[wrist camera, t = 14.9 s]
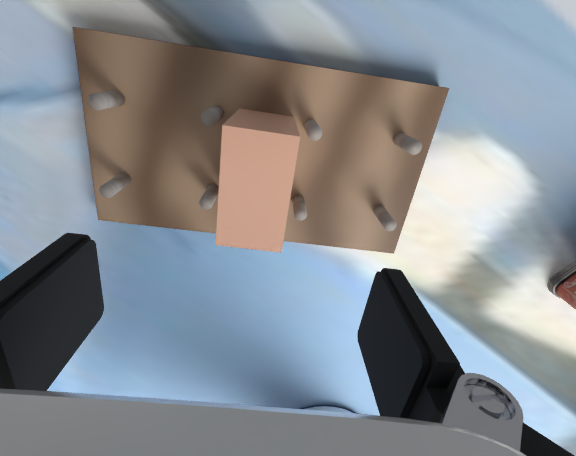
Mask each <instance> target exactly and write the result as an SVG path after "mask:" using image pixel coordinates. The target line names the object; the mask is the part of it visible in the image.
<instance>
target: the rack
mask: <svg viewBox="0 0 576 456" xmlns="http://www.w3.org/2000/svg"><path fill="white" fill-rule="evenodd" d="M73 34H74V41H75V49H76V57H77V64H78V72H79V79H80V87H81V94H82V102H83V109H84V117H85V124H86V132H87V139H88V147H89V155H90V162H91V170H92V177H93V185H94V192H95V200H96V207H97V215H98V220H103V221H112V222H120V223H129V224H138V225H147V226H156V227H165V228H174V229H183V230H191V231H200V232H209V233H216V228H217V211H218V193H219V175H220V157H221V140H222V125H223V124H224V123H225V122H226V121H227V120H228V119H229V118H230V117H231V116H232V115H233V114H234V113H235V112H236V111H237V110H238V109H239V108H241V109H247V110H254V111H260V112H267V113H273V114H280V115H286V116H293V117H294V119H295V122H296V125H297V128H298V131H299V134H300V142H299V148H298V154H297V160H296V167H295V173H294V179H293V185H292V191H291V197H290V203H289V210H288V216H287V222H286V228H285V234H284V240H283V241H289V242H298V243H307V244H316V245H324V246H333V247H342V248H351V249H360V250H369V251H378V252H386V253H394V251H395V248H396V245H397V242H398V239H399V236H400V233H401V230H402V227H403V224H404V221H405V218H406V215H407V212H408V209H409V206H410V203H411V200H412V198H413V195H414V192H415V189H416V186H417V183H418V180H419V177H420V174H421V171H422V168H423V165H424V162H425V159H426V156H427V153H428V150H429V147H430V144H431V141H432V138H433V135H434V132H435V129H436V126H437V123H438V120H439V117H440V114H441V111H442V108H443V105H444V102H445V99H446V96H447V93H448V91H449V88H445V87H439V86H433V85H427V84H421V83H414V82H408V81H402V80H396V79H390V78H384V77H378V76H371V75H365V74H359V73H353V72H347V71H341V70H334V69H328V68H322V67H316V66H310V65H304V64H297V63H291V62H285V61H279V60H273V59H267V58H261V57H254V56H248V55H242V54H236V53H230V52H224V51H217V50H211V49H205V48H199V47H193V46H187V45H181V44H174V43H168V42H162V41H156V40H150V39H144V38H137V37H131V36H125V35H119V34H113V33H107V32H101V31H94V30H88V29H82V28H76V27H73Z"/></svg>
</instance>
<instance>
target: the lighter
mask: <svg viewBox="0 0 576 456" xmlns="http://www.w3.org/2000/svg"><path fill="white" fill-rule="evenodd" d="M547 287H548V289H549V291H550V292H552V293H553V294H554V295H555V296H557V297H559V298H562V299H563V300H564V301H566V302H567V303H568V304H569V305H571V306H572V307H573V308H574V309H576V261H575V262H573V263H572V264H570V265H569V266H567V267H566V268H564V269H563V270H561V271H560V272H559V273H557V274H556V275H555V276H553V277H552V278H551V279H550V280H549V282H548V286H547Z"/></svg>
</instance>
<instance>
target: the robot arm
mask: <svg viewBox="0 0 576 456" xmlns="http://www.w3.org/2000/svg"><path fill="white" fill-rule="evenodd" d="M103 311H104V304H103V296H102V288H101V280H100V273H99V265H98V257H97V249H96V243H95V241H94V240H91V239H90V237H89V236H88V235H83V234H74V233H66V234H64V235H63V236H62V237H60V238H59V239H57V240H56V241H55V242H53V243H52V244H51V245H49V246H48V247H46V248H45V249H44V250H42V251H41V252H39V253H38V254H37V255H35V256H34V257H33V258H31V259H30V260H28V261H27V262H26V263H24V264H23V265H22V266H20V267H19V268H17V269H16V270H15V271H13V272H12V273H11V274H9V275H8V276H6V277H5V278H4V279H2V280H1V281H0V456H574V455H572V454H571V453H569V452H568V451H566V450H565V449H563V448H562V447H560V446H558V445H557V444H555V443H554V442H552V441H551V440H549V439H548V438H546V437H545V436H543V435H541V434H540V433H538V432H537V431H535V430H534V429H532V428H531V427H529V426H528V425H526V424H524V423H523V413H522V409H521V407H520V405H519V403H518V401H517V400H516V399H515V398H514V396H513V395H512V394H511V393H510V392H509V391H508V390H507V389H505V388H504V387H503V386H502V385H500V384H499V383H497V382H496V381H494V380H492V379H490V378H488V377H486V376H484V375H480V374H476V373H466V374H465V373H464V371H463V369H462V368H461V366H460V365H459V364H460V363H459V361H458V359H457V358H456V356H455V355H454V353H453V351H452V350H451V348H450V347H449V345H448V344H447V342H446V340H445V339H444V337H443V336H442V334H441V333H440V331H439V329H438V328H437V326H436V325H435V323H434V321H433V320H432V318H431V317H430V315H429V314H428V312H427V310H426V309H425V307H424V306H423V304H422V302H421V301H420V299H419V298H418V296H417V295H416V293H415V291H414V290H413V288H412V287H411V285H410V283H409V282H408V280H407V279H406V277H405V276H404V274H403V272H402V271H401V270H397V269H388V268H383V269H382V270H381V272H377V273H376V275H375V278H374V281H373V284H372V287H371V291H370V294H369V297H368V300H367V304H366V307H365V310H364V313H363V317H362V320H361V323H360V326H359V330H358V343H359V346H360V349H361V353H362V356H363V359H364V363H365V366H366V369H367V373H368V376H369V379H370V383H371V386H372V390H373V393H374V396H375V400H376V403H377V406H378V410H379V413H380V416H375V415H365V414H355V413H352V412H350V411H348V410H345V409H343V408H338V407H331V406H318V407H311V408H306V409H292V408H279V407H266V406H253V405H239V404H226V403H212V402H198V401H184V400H170V399H156V398H142V397H127V396H112V395H97V394H82V393H67V392H52V391H47V389H48V388H49V387H50V385H51V384H52V383H53V381H54V380H55V379H56V377H57V376H58V375H59V373H60V372H61V371H62V369H63V368H64V367H65V365H66V364H67V362H68V361H69V360H70V358H71V357H72V356H73V354H74V353H75V352H76V350H77V349H78V348H79V346H80V345H81V344H82V342H83V341H84V340H85V338H86V337H87V336H88V334H89V333H90V332H91V330H92V329H93V328H94V326H95V325H96V324H97V322H98V321H99V320H100V318H101V317H102V314H103Z"/></svg>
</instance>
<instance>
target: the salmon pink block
mask: <svg viewBox="0 0 576 456" xmlns="http://www.w3.org/2000/svg"><path fill="white" fill-rule="evenodd" d="M299 142H300V134H299V131H298V128H297V125H296V122H295V119H294V117H293V116H286V115H280V114H273V113H267V112H260V111H254V110H247V109H241V108H239V109H238V110H237V111H236V112H235V113H234V114H233V115H232V116H231V117H230V118H229V119H228V120H227V121H226V122H225V123H224V124H223V125H222V140H221V157H220V175H219V193H218V211H217V228H216V245H220V246H229V247H238V248H246V249H255V250H264V251H272V252H282V246H283V240H284V234H285V228H286V222H287V216H288V210H289V203H290V197H291V191H292V185H293V179H294V173H295V167H296V160H297V154H298V148H299Z"/></svg>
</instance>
